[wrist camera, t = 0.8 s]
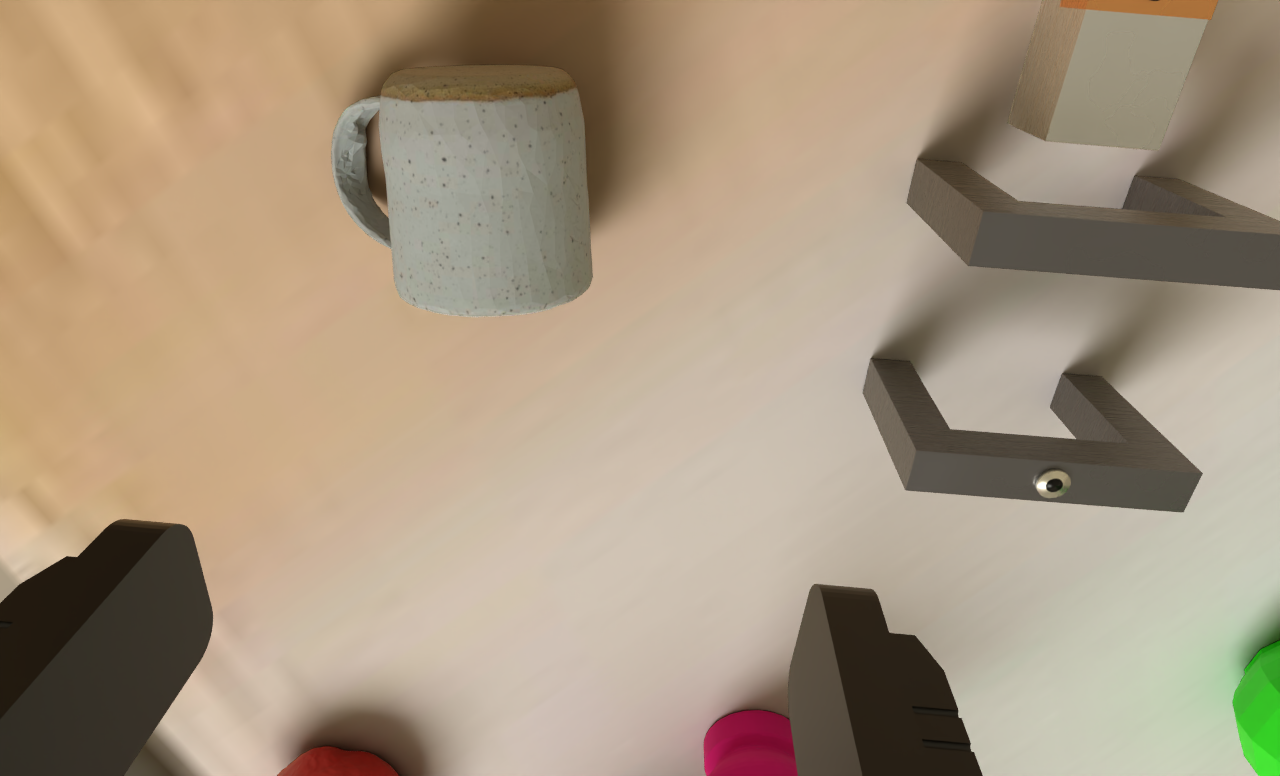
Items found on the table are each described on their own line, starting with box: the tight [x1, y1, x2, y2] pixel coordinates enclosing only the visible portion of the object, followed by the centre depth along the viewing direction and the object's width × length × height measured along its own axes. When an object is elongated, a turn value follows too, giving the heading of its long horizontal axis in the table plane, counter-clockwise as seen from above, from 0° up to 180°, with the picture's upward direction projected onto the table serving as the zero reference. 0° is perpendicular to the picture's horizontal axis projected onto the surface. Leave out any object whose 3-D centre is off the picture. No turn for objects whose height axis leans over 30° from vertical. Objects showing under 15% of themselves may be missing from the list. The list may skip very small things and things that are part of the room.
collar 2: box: [863, 358, 1203, 512], centre depth 33 cm, size 2×11×8 cm, turn 86°
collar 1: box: [907, 159, 1280, 290], centre depth 28 cm, size 2×11×8 cm, turn 86°
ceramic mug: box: [331, 65, 593, 317], centre depth 29 cm, size 11×8×8 cm
